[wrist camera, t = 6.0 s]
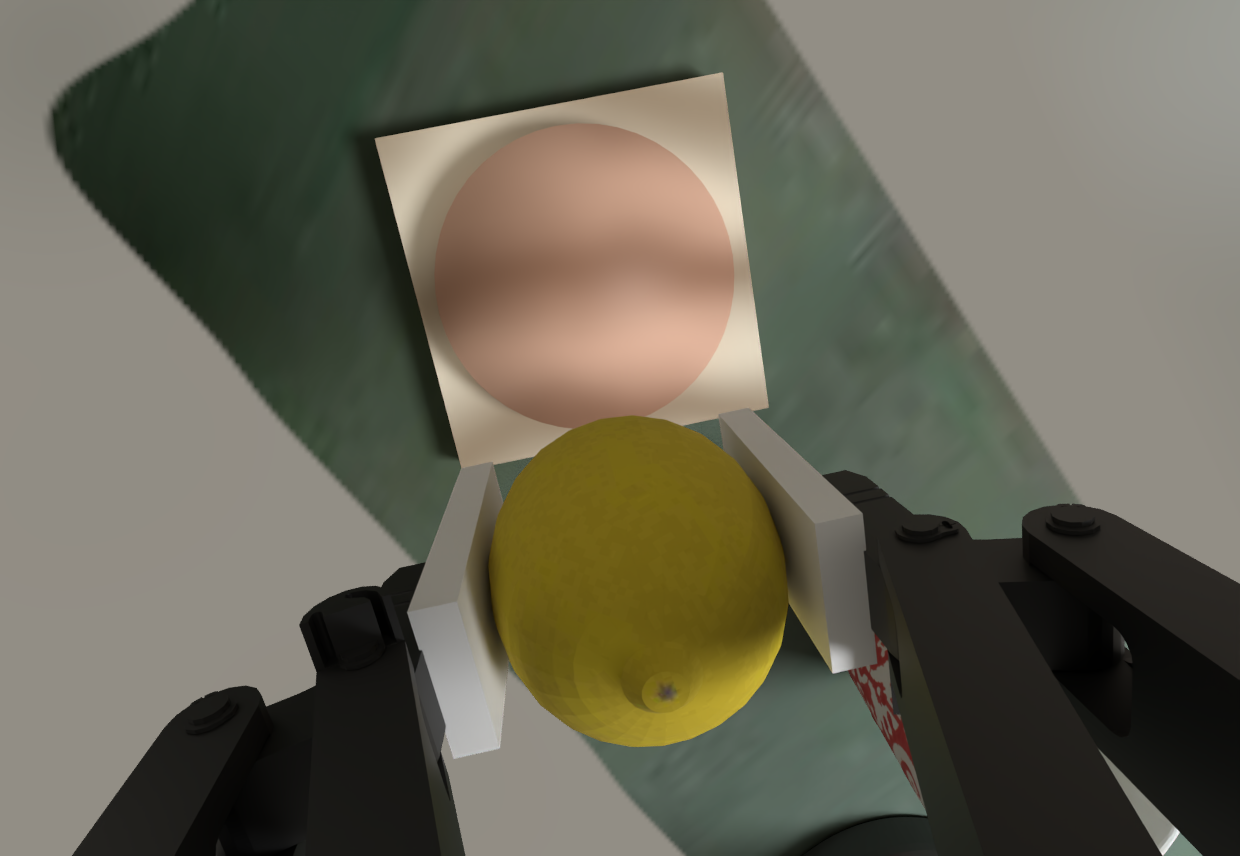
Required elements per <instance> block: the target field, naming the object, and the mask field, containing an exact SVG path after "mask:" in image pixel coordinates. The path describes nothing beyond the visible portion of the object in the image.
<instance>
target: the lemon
mask: <svg viewBox="0 0 1240 856" xmlns="http://www.w3.org/2000/svg"><path fill="white" fill-rule="evenodd" d="M488 568H489V580H490V591H491V602H492V611H493V616H494V620H495V623H496V627H497V630H498V632H499V635H500V637H501V640H502V642H503V645H504V647H505V650H506V653H507V655H508V658H509V660H510V662H511V665H512V667H513V669H514V671H515V672H516V674H517V675H518V676H519V678H520V679H521V680H522V682H523V683H524V684H525V685H526V687H527V688H528V689H529V691H530V692H531V693H532V695H533V696H534V697H535V699H536V700H537V701H538V703H539V704H540V705H541V706H542V707H544V708H545V709H546V710H548V711H549V712H550V713H551V714H553V715H554V716H555V717H557V718H558V719H559V720H561V721H562V722H563V723H565V724H566V725H567V726H569V727H570V728H572V729H574V730H576V731H578V732H581V733H583V734H585V735H588V736H590V737H592V738H595V739H597V740H599V741H603V742H608V743H614V744H619V745H625V746H630V747H643V746H664V745H668V744H672V743H676V742H680V741H684V740H688V739H692V738H694V737H696V736H698V735H700V734H702V733H704V732H706V731H708V730H710V729H712V728H714V727H716V726H718V725H720V724H721V723H723V722H724V721H725V720H726V719H728V718H729V717H730V716H731V715H733V714H734V713H735V712H737V711H738V710H739V709H740V708H742V707H743V706H744V705H745V704H746V703H747V702H748V700H749V699H750V698H751V697H752V695H753V694H754V693H755V692H756V690H757V689H758V688H759V687H760V685H761V684H762V683H763V682H764V680H765V678H766V676H767V674H768V672H769V670H770V668H771V666H772V664H773V662H774V659H775V657H776V655H777V653H778V651H779V649H780V647H781V644H782V638H783V633H784V627H785V622H786V616H787V610H788V604H789V599H788V585H787V575H786V565H785V557H784V550H783V546H782V543H781V539H780V537H779V534H778V532H777V529H776V526H775V524H774V521H773V519H772V516H771V514H770V511H769V509H768V506H767V504H766V501H765V499H764V497H763V496H762V494H761V493H760V491H759V490H758V488H757V487H756V486H755V484H754V483H753V482H752V481H751V479H750V478H749V477H748V475H747V474H746V473H745V471H744V470H743V469H742V467H741V466H740V465H739V464H738V463H737V461H736V460H735V459H734V458H733V457H731V456H730V455H729V454H727V453H726V452H725V451H723V450H722V449H721V448H719V447H718V446H717V445H715V444H714V443H713V442H711V441H710V440H709V439H707V438H706V437H705V436H703V435H702V434H700V433H698V432H695V431H693V430H690V429H688V428H685V427H683V426H681V425H678V424H676V423H673V422H671V421H668V420H664V419H657V418H650V417H642V416H635V415H630V416H622V417H613V418H605V419H599V420H596V421H593V422H591V423H588V424H585V425H582V426H580V427H577V428H574V429H572V430H569V431H568V432H566V433H565V434H563V435H562V436H560V437H559V438H557V439H556V440H554V441H553V442H551V443H550V444H548V445H547V446H545V447H544V448H542V449H541V450H540V451H539V452H538V453H537V455H536V456H535V457H534V458H533V459H532V460H531V461H530V463H529V464H528V465H527V466H526V467H525V468H524V469H523V471H522V472H521V473H520V474H519V475H518V477H517V478H516V479H515V481H514V483H513V485H512V487H511V489H510V491H509V493H508V495H507V497H506V499H505V501H504V503H503V505H502V507H501V509H500V511H499V514H498V516H497V520H496V524H495V529H494V534H493V539H492V544H491V549H490V554H489V564H488Z"/></svg>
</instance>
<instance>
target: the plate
mask: <svg viewBox="0 0 1240 856" xmlns="http://www.w3.org/2000/svg"><path fill="white" fill-rule="evenodd" d="M375 142H376V146H377V149H378V153H379V157H380V161H381V164H382V168H383V172H384V176H385V180H386V183H387V187H388V191H389V195H390V199H391V202H392V206H393V210H394V214H395V218H396V221H397V225H398V229H399V233H400V236H401V240H402V244H403V248H404V252H405V255H406V259H407V263H408V267H409V271H410V274H411V278H412V282H413V286H414V290H415V293H416V297H417V301H418V305H419V308H420V312H421V316H422V320H423V324H424V327H425V331H426V335H427V339H428V343H429V346H430V350H431V354H432V358H433V362H434V365H435V369H436V373H437V377H438V380H439V384H440V388H441V392H442V396H443V399H444V403H445V407H446V411H447V415H448V418H449V422H450V426H451V430H452V434H453V437H454V441H455V445H456V449H457V452H458V456H459V460H460V464H461V468H464V467H469V466H474V465H479V464H483V463H488V462H493V465H495V464H500V463H505V462H510V461H514V460H519V459H524V458H529V457H534V456H536V455H537V453H538V452H539V451H540V450H541V449H542V448H544V447H545V446H547V445H548V444H550V443H551V442H553V441H554V440H556V439H557V438H559V437H560V436H562V435H563V434H565V433H566V432H568V431H569V430H572V429H574V428H577V427H580V426H582V425H585V424H588V423H591V422H593V421H596V420H599V419H605V418H613V417H622V416H630V415H635V416H642V417H650V418H657V419H664V420H668V421H671V422H673V423H676V424H678V425H681V426H682V425H687V424H692V423H697V422H702V421H706V420H711V419H716V418H719V416H718V414H721V413H726V412H730V411H735V410H740V409H745V408H750V409H751V410H752V411H754V410H759V409H764V408H769V406H768V398H767V391H766V384H765V377H764V369H763V362H762V355H761V347H760V340H759V333H758V326H757V318H756V311H755V304H754V296H753V289H752V282H751V275H750V267H749V260H748V253H747V246H746V238H745V231H744V224H743V216H742V209H741V202H740V195H739V187H738V180H737V173H736V165H735V158H734V151H733V144H732V136H731V129H730V122H729V114H728V107H727V100H726V93H725V85H724V78H723V73H717V74H712V75H707V76H701V77H696V78H691V79H686V80H680V81H675V82H670V83H665V84H659V85H654V86H649V87H643V88H638V89H633V90H628V91H622V92H617V93H612V94H607V95H601V96H596V97H591V98H585V99H580V100H575V101H570V102H564V103H559V104H554V105H549V106H543V107H538V108H533V109H527V110H522V111H517V112H512V113H506V114H501V115H496V116H491V117H485V118H480V119H475V120H469V121H464V122H459V123H454V124H448V125H443V126H438V127H433V128H427V129H422V130H417V131H411V132H406V133H401V134H396V135H390V136H385V137H380V138H375Z"/></svg>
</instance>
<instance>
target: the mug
mask: <svg viewBox="0 0 1240 856" xmlns="http://www.w3.org/2000/svg"><path fill="white" fill-rule="evenodd" d="M874 634H875V633H874ZM875 645H876V655H877V664H873V665H869V666H864V667H860V668H855V669H851V670H847V671H848V672H849V674H850V676H851V678H852V680H853V681H854V683H855V685H856V687H857V688H858V690H859V692H860V694H861V695H862V697H863V699H864V701H865V703H866V705H867V707H868V708H869V710H870V712H871V715H872V717H873V719H874V720H875V722H876V724H877V725H878V727H879V728H880V730H881V732H882V733H883V735H884V737H885V739H886V741H887V742H888V744H889V746H890V748H891V749H892V751H893V753H894V755H895V757H896V758H897V760H898V762H899V764H900V766H901V768H902V770H903V772H904V773H905V775H906V777H907V779H908V780H909V782H910V784H911V786H912V788H913V789H914V791H915V793H916V794H917V796H918V798H919V800H920V801H921V803H922V805H923V806H924V808H925V805H924V802H923V798H922V794H921V790H920V786H919V783H918V779H917V775H916V771H915V768H914V764H913V760H912V756H911V753H910V749H909V745H908V741H907V738H906V734H905V730H904V726H903V723H902V719H901V715H893V705H892V694H891V683H890V672H889V661H888V650H887V648H886V647H885V646H884V644H883V643H882V642H881V640H880V639H879V638H878V637H877V635H876V634H875ZM1099 751H1100V750H1099ZM1100 752H1101V751H1100ZM1101 754H1102V756H1103V757H1104V759H1105V761H1106V762H1107V764H1108V766H1109V767H1110V769H1111V771H1112V772H1113V774H1114V776H1115V777H1116V779H1117V781H1118V782H1119V784H1120V786H1121V787H1122V789H1123V791H1124V792H1125V794H1126V796H1127V797H1128V799H1129V801H1130V802H1131V804H1132V806H1133V807H1134V809H1135V811H1136V812H1137V814H1138V816H1139V817H1140V819H1141V821H1142V822H1143V824H1144V826H1145V827H1146V829H1147V831H1148V832H1149V834H1150V836H1151V837H1152V839H1153V841H1154V842H1155V844H1156V846H1157V847H1158V849H1159V851H1160V852H1161V854H1162V856H1163V855H1164V854H1165V853H1166V851H1167V850H1168V849H1169V847H1170V846H1171V845H1172V843H1173V842H1174V840H1175V839H1176V837H1177V836H1178V834H1179V833H1180V832H1179V831H1178V830H1177V829H1176V828H1175V827H1174V826H1173V825H1172V824H1171V823H1170V822H1169V820H1168V819H1167V818H1166V817H1165V816H1164V815H1163V814H1162V813H1161V812H1160V811H1159V810H1158V809H1157V808H1156V807H1155V806H1154V805H1153V804H1152V803H1151V802H1150V801H1149V800H1148V799H1147V798H1146V797H1145V796H1144V795H1143V794H1142V793H1141V792H1140V791H1139V790H1138V789H1137V788H1136V787H1135V786H1134V785H1133V784H1132V783H1131V782H1130V781H1129V780H1128V778H1127V777H1126V776H1125V775H1124V774H1123V773H1122V772H1121V771H1120V770H1119V769H1118V768H1117V767H1116V766H1115V765H1114V764H1113V763H1112V762H1111V761H1110V760H1109V759H1108V758H1107V757H1106V756H1105V755H1104V754H1103V753H1102V752H1101ZM925 810H926V809H925Z"/></svg>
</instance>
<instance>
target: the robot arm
mask: <svg viewBox="0 0 1240 856" xmlns="http://www.w3.org/2000/svg"><path fill="white" fill-rule="evenodd" d="M718 416H719V422H720V429H721V435H722V442H723V448H724V451H725V452H726V453H727V454H729V455H730V456H731V457H733V458H734V459H735V460H736V461H737V463H738V464H739V465H740V466H741V467H742V469H743V470H744V471H745V473H746V474H747V475H748V477H749V478H750V479H751V481H752V482H753V483H754V484H755V486H756V487H757V488H758V490H759V491H760V493H761V494H762V496H763V497H764V499H765V501H766V504H767V506H768V509H769V511H770V514H771V516H772V519H773V521H774V524H775V526H776V529H777V532H778V534H779V537H780V539H781V543H782V546H783V550H784V557H785V565H786V575H787V585H788V599H789V604H790V606H791V608H792V609H793V611H794V612H795V614H796V616H797V617H798V619H799V620H800V622H801V624H802V625H803V627H804V628H805V630H806V632H807V633H808V635H809V636H810V638H811V640H812V641H813V643H814V644H815V646H816V648H817V649H818V651H819V652H820V654H821V656H822V657H823V659H824V660H825V662H826V664H827V665H828V667H829V668H830V670H831V672H832V673H838V672H842V671H846V670H851V669H855V668H860V667H864V666H869V665H873V664H877V655H876V645H875V634H876V635H877V637H878V638H879V639H880V640H881V642H882V643H883V644H884V646H885V647H886V648H887V650H888V661H889V672H890V683H891V694H892V705H893V715H901V719H902V723H903V726H904V730H905V734H906V738H907V741H908V745H909V749H910V753H911V756H912V760H913V764H914V768H915V771H916V775H917V779H918V783H919V786H920V790H921V794H922V798H923V802H924V805H925V809H926V813H927V817H928V819H927V818H919V817H896V818H887V819H880V820H875V821H871V822H867V823H863V824H860V825H857V826H854V827H852V828H849V829H846V830H844V831H842V832H840V833H838V834H835V835H834V836H832V837H830V838H828V839H826V840H825V841H823V842H821V843H820V844H818V845H817V846H815V847H814V848H812V849H811V850H810V851H808V852H807V853H806V854H805V855H803V856H1162V854H1161V852H1160V851H1159V849H1158V847H1157V846H1156V844H1155V842H1154V841H1153V839H1152V837H1151V836H1150V834H1149V832H1148V831H1147V829H1146V827H1145V826H1144V824H1143V822H1142V821H1141V819H1140V817H1139V816H1138V814H1137V812H1136V811H1135V809H1134V807H1133V806H1132V804H1131V802H1130V801H1129V799H1128V797H1127V796H1126V794H1125V792H1124V791H1123V789H1122V787H1121V786H1120V784H1119V782H1118V781H1117V779H1116V777H1115V776H1114V774H1113V772H1112V771H1111V769H1110V767H1109V766H1108V764H1107V762H1106V761H1105V759H1104V757H1103V756H1102V754H1101V752H1102V753H1103V754H1104V755H1105V756H1106V757H1107V758H1108V759H1109V760H1110V761H1111V762H1112V763H1113V764H1114V765H1115V766H1116V767H1117V768H1118V769H1119V770H1120V771H1121V772H1122V773H1123V774H1124V775H1125V776H1126V777H1127V778H1128V780H1129V781H1130V782H1131V783H1132V784H1133V785H1134V786H1135V787H1136V788H1137V789H1138V790H1139V791H1140V792H1141V793H1142V794H1143V795H1144V796H1145V797H1146V798H1147V799H1148V800H1149V801H1150V802H1151V803H1152V804H1153V805H1154V806H1155V807H1156V808H1157V809H1158V810H1159V811H1160V812H1161V813H1162V814H1163V815H1164V816H1165V817H1166V818H1167V819H1168V820H1169V822H1170V823H1171V824H1172V825H1173V826H1174V827H1175V828H1176V829H1177V830H1178V831H1179V832H1180V833H1181V834H1182V835H1183V836H1184V837H1185V838H1186V839H1187V840H1188V841H1189V842H1190V843H1191V844H1192V845H1193V846H1194V847H1195V848H1196V849H1197V850H1198V851H1199V852H1200V853H1201V854H1202V855H1203V856H1240V584H1239V583H1237V582H1236V581H1234V580H1232V579H1230V578H1228V577H1227V576H1225V575H1223V574H1221V573H1219V572H1218V571H1216V570H1214V569H1212V568H1210V567H1209V566H1207V565H1205V564H1203V563H1201V562H1199V561H1197V560H1196V559H1194V558H1192V557H1190V556H1189V555H1187V554H1185V553H1183V552H1181V551H1179V550H1178V549H1176V548H1174V547H1172V546H1171V545H1169V544H1167V543H1165V542H1163V541H1161V540H1160V539H1158V538H1156V537H1154V536H1152V535H1151V534H1149V533H1147V532H1145V531H1143V530H1142V529H1140V528H1138V527H1136V526H1134V525H1133V524H1131V523H1129V522H1127V521H1125V520H1124V519H1122V518H1120V517H1118V516H1116V515H1114V514H1111V513H1108V512H1106V511H1104V510H1101V509H1096V508H1091V507H1086V506H1085V505H1081V504H1072V505H1070V504H1058V505H1056V506H1046V507H1042V508H1039V509H1036V510H1033V511H1030V512H1029V513H1028V514H1026V515H1025V516H1024V517H1023V520H1022V538H1012V539H991V540H973V539H972V538H971V536H970V535H969V533H968V531H967V530H966V529H965V528H964V527H963V526H962V525H961V524H960V523H959V522H957V521H954V520H952V519H949V518H946V517H942V516H936V515H929V514H927V515H913V514H912V513H911V512H910V511H908V510H907V509H906V508H905V507H903V506H902V505H901V504H900V503H898V502H897V501H896V500H895V499H893V498H892V497H889V495H888V494H887V493H886V492H885V491H883V490H882V489H879V487H878V486H877V485H876V484H875V483H873V482H872V481H871V480H870V479H868V478H867V477H865V476H862V475H859V474H856V473H853V472H850V471H847V470H844V471H840V472H835V473H830V474H826V475H821V474H820V473H819V472H817V471H816V470H815V469H814V468H813V467H812V466H811V465H810V464H809V463H808V462H807V461H806V460H805V459H803V458H802V457H801V456H800V455H799V454H798V453H797V452H796V451H795V450H794V449H793V448H792V447H791V446H789V445H788V444H787V443H786V442H785V441H784V440H783V439H782V438H781V437H780V436H779V435H778V434H776V433H775V432H774V431H773V430H772V429H771V428H770V427H769V426H768V425H767V424H766V423H765V422H764V421H762V420H761V419H760V418H759V417H758V416H757V415H756V414H755V413H754V412H753V411H752V410H751V409H750V408H745V409H740V410H735V411H730V412H726V413H721V414H718ZM502 505H503V500H502V496H501V492H500V489H499V485H498V481H497V477H496V473H495V469H494V465H493V462H488V463H483V464H479V465H474V466H469V467H464V468H461V470H460V473H459V476H458V478H457V481H456V484H455V486H454V489H453V492H452V494H451V497H450V500H449V502H448V505H447V508H446V510H445V513H444V516H443V518H442V521H441V524H440V526H439V529H438V531H437V534H436V537H435V539H434V542H433V545H432V547H431V550H430V553H429V555H428V558H427V561H426V562H425V563H420V564H416V565H411V566H406V567H402V568H399V569H398V570H397V571H396V572H395V573H394V574H392V576H390V577H389V578H388V579H387V580H386V581H385V582H384V583H383V585H382V587H378V586H367V587H359V588H355V589H351V590H347V591H344V592H341V593H339V594H337V595H334V596H332V597H329V598H327V599H326V600H324V601H322V602H321V603H319V604H317V605H316V606H314V607H313V608H312V609H311V610H310V611H309V612H308V613H307V614H305V615H304V616H303V618H302V621H301V622H300V628H301V631H302V634H303V637H304V639H305V642H306V644H307V647H308V650H309V653H310V655H311V658H312V661H313V664H314V666H315V669H316V672H317V675H316V686H314V687H312V688H310V689H308V690H306V691H304V692H301V693H299V694H297V695H294V696H292V697H290V698H287V699H284V700H282V701H279V702H277V703H274V704H272V705H269V706H267V707H266V706H265V703H264V701H263V698H262V696H261V694H260V692H259V691H258V690H257V688H254V687H249V686H239V687H232V688H228V689H225V690H222V691H219V692H218V691H217V692H212V693H210V694H208V695H206V696H205V697H204V698H202V697H201V698H200V699H198V700H196V701H194V702H193V703H191V705H190V706H189V707H187V708H186V709H185V710H183V711H182V712H180V713H179V714H177V715H176V716H175V717H174V718H173V719H172V720H171V721H170V722H169V723H168V725H167V726H166V727H165V728H164V729H163V730H162V732H161V733H160V735H159V736H158V737H157V739H156V740H155V741H154V743H153V744H152V746H151V747H150V748H149V750H148V751H147V752H146V754H145V755H144V757H143V758H142V759H141V761H140V762H139V764H138V765H137V767H136V768H135V769H134V771H133V772H132V773H131V775H130V776H129V777H128V779H127V780H126V782H125V783H124V785H123V786H122V787H121V788H120V790H119V792H118V793H117V794H116V795H115V797H114V798H113V800H112V801H111V802H110V804H109V805H108V807H107V808H106V809H105V811H104V812H103V814H102V815H101V816H100V818H99V819H98V820H97V822H96V823H95V824H94V826H93V827H92V829H91V830H90V831H89V833H88V834H87V836H86V837H85V838H84V840H83V841H82V843H81V844H80V845H79V847H78V848H77V849H76V851H75V852H74V854H73V855H72V856H465V852H464V847H463V842H462V838H461V833H460V828H459V823H458V819H457V814H456V809H455V804H454V800H453V795H452V790H451V785H450V781H449V776H448V772H447V769H446V766H445V763H444V760H443V757H442V754H441V747H442V742H443V738H444V733H446V736H447V740H448V743H449V746H450V749H451V752H452V755H453V758H454V759H455V758H460V757H464V756H469V755H473V754H477V753H482V752H486V751H490V750H495V749H499V748H500V743H501V732H502V722H503V713H504V702H505V693H506V683H507V673H508V663H509V658H508V655H507V653H506V650H505V647H504V645H503V642H502V640H501V637H500V635H499V632H498V630H497V627H496V623H495V620H494V616H493V611H492V602H491V591H490V580H489V568H488V564H489V554H490V549H491V544H492V539H493V534H494V529H495V524H496V520H497V516H498V514H499V511H500V509H501V507H502ZM874 633H875V634H874ZM1124 640H1125V641H1126V643H1127V645H1128V648H1129V650H1130V651H1129V650H1128V649H1127V648H1126V647H1124ZM1099 750H1100V751H1101V752H1100V751H1099Z"/></svg>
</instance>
